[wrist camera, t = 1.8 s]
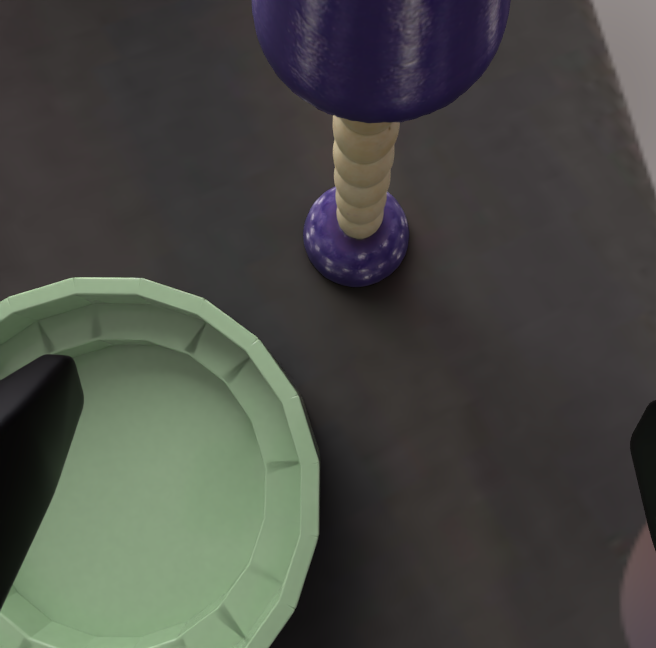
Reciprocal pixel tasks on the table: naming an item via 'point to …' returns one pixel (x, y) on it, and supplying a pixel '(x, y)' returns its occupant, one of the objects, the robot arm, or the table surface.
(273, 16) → the toy lamp
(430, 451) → the table surface
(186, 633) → the bowl
